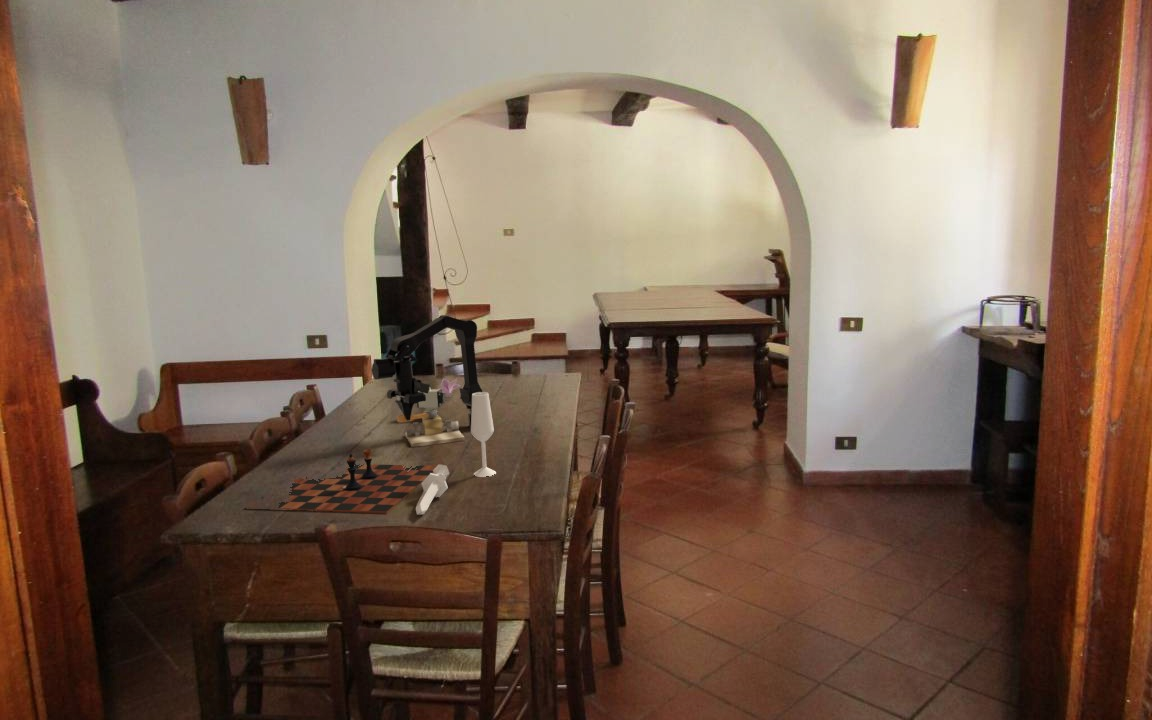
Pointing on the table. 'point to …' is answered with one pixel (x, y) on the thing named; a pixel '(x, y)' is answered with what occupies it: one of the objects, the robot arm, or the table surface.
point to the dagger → (432, 488)
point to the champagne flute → (482, 427)
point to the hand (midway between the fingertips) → (408, 420)
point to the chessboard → (357, 488)
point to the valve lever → (417, 416)
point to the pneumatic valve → (432, 400)
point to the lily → (448, 387)
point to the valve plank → (435, 438)
